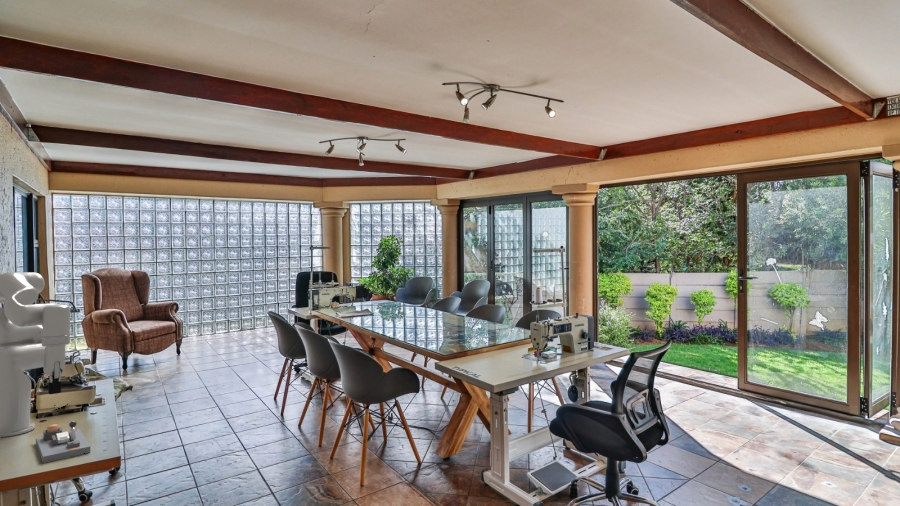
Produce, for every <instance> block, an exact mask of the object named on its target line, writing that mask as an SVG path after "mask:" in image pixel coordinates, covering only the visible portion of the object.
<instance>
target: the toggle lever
mask: <svg viewBox="0 0 900 506" xmlns="http://www.w3.org/2000/svg"><path fill="white" fill-rule="evenodd" d="M77 424H78V423H77V422H76V421H74V420H72V421H70V422H69V424H68V425H69V427H70V431H71V440H74V439H76V433H75V430H76V426H77Z"/></svg>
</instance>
